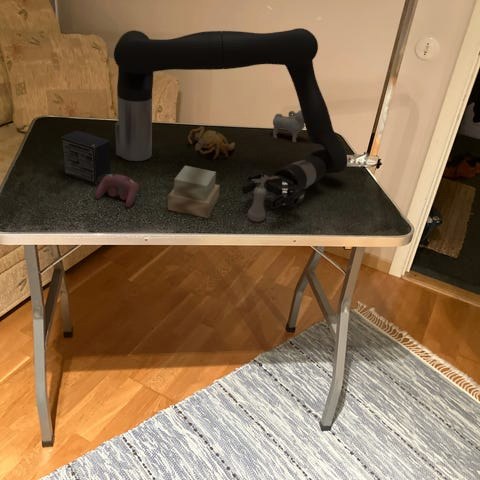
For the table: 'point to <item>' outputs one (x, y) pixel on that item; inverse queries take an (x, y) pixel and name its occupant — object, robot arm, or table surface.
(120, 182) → the video game controller
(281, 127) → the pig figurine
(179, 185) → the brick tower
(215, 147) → the crab model
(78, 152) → the small box
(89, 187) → the table surface
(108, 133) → the table surface
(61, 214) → the table surface
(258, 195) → the rook chess piece
